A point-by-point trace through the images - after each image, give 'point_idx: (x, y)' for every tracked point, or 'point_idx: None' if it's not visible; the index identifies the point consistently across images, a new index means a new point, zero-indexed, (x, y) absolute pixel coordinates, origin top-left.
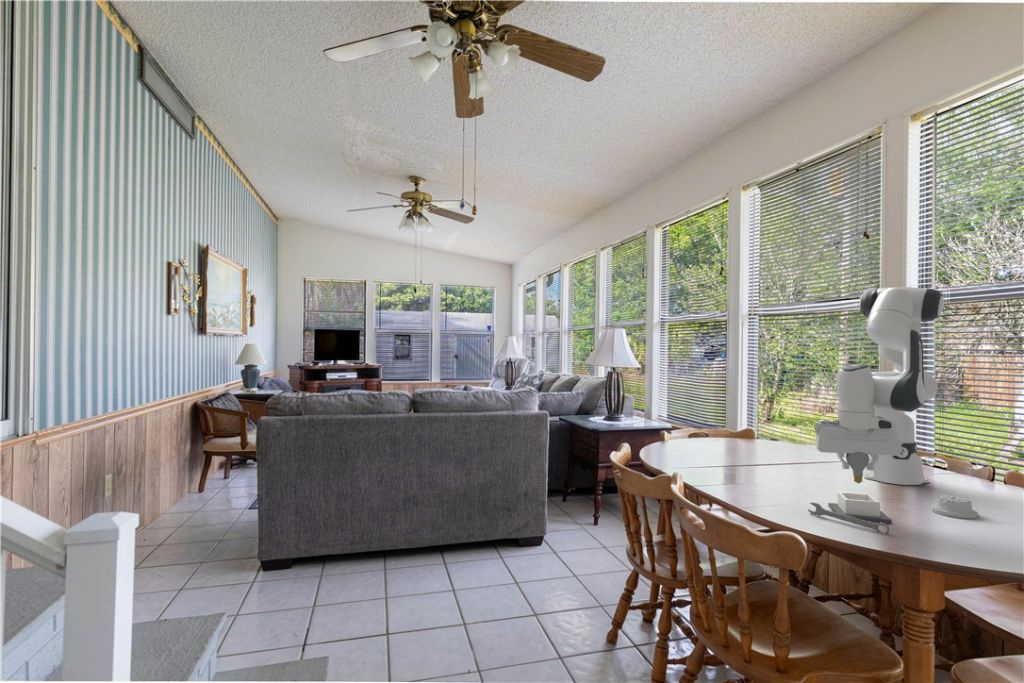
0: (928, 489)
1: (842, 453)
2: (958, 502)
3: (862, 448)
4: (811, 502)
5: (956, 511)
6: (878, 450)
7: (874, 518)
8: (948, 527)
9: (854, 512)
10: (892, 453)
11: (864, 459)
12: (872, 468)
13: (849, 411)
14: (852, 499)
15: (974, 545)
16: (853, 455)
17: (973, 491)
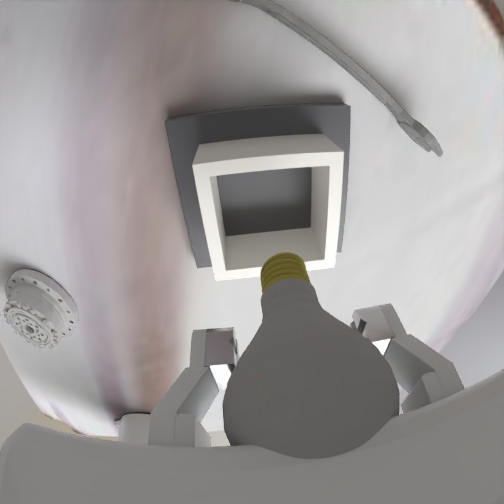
0: (109, 403)
1: (443, 397)
2: (16, 307)
3: (303, 497)
4: (439, 154)
5: (26, 286)
6: (138, 485)
7: (225, 112)
8: (30, 173)
9: (294, 137)
10: (45, 442)
11: (279, 380)
12: (202, 338)
13: None
14: (310, 166)
15: (3, 38)
16: (382, 399)
17: (62, 400)
